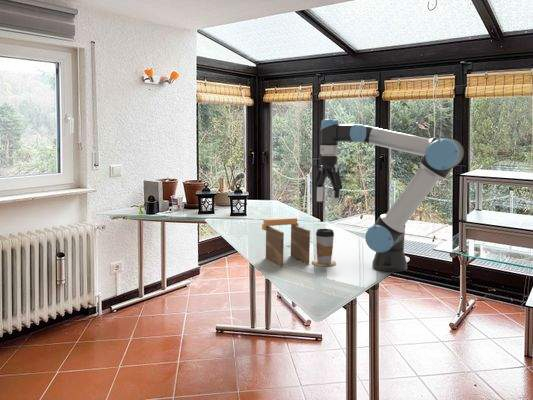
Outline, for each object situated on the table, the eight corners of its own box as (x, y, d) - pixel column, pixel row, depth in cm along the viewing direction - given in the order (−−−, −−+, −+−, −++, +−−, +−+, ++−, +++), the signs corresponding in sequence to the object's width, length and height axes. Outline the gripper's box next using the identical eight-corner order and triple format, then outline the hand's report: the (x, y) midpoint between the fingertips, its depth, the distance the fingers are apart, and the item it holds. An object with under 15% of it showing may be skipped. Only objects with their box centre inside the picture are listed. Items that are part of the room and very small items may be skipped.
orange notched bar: (295, 226, 246) (295, 217, 245) (298, 228, 243) (298, 218, 242) (262, 229, 239) (262, 219, 238) (264, 230, 236) (264, 220, 235)
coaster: (328, 259, 239) (328, 258, 239) (340, 265, 229) (340, 264, 229) (307, 261, 235) (307, 260, 235) (319, 267, 225) (319, 266, 225)
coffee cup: (311, 261, 232) (312, 229, 230) (323, 259, 238) (324, 227, 236) (324, 265, 226) (325, 232, 224) (337, 262, 232) (338, 230, 230)
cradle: (292, 255, 246) (293, 224, 244) (309, 264, 231) (310, 230, 229) (265, 258, 240) (266, 226, 238) (280, 267, 225) (281, 232, 223)
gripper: (307, 154, 230) (306, 200, 233) (336, 156, 207) (334, 207, 210) (322, 153, 233) (320, 199, 236) (351, 156, 210) (349, 206, 213)
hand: (327, 203), depth 223 cm, fingers open, 13 cm apart
